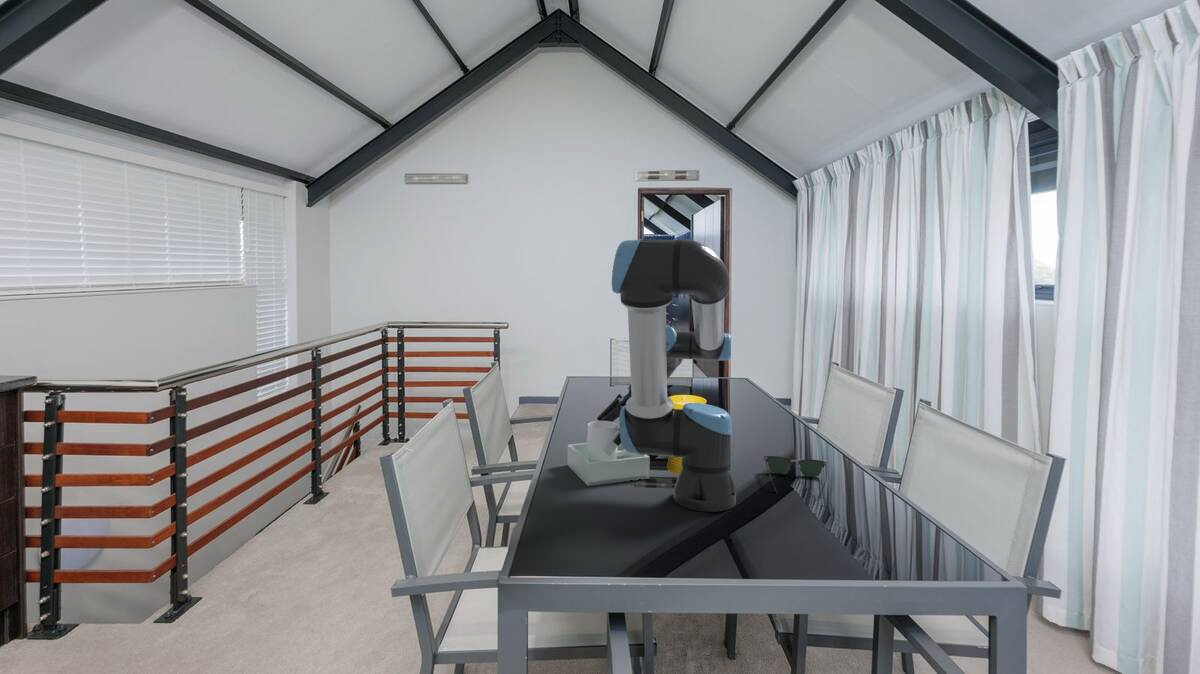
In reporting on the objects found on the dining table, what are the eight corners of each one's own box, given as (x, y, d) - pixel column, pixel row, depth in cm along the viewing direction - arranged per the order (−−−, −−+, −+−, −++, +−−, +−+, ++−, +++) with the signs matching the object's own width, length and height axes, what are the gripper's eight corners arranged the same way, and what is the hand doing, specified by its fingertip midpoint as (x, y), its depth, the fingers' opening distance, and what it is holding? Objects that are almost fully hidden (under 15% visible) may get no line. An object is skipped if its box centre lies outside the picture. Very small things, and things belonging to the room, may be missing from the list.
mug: (632, 457, 166) (632, 422, 165) (629, 467, 158) (629, 429, 157) (590, 455, 168) (590, 420, 167) (585, 464, 159) (585, 427, 158)
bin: (649, 478, 159) (649, 456, 158) (588, 486, 153) (588, 463, 152) (623, 458, 175) (624, 439, 175) (567, 465, 169) (567, 444, 168)
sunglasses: (763, 493, 150) (764, 474, 150) (763, 472, 167) (764, 454, 166) (832, 500, 146) (833, 481, 145) (825, 478, 162) (826, 460, 162)
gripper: (676, 401, 161) (626, 467, 154) (632, 387, 179) (586, 446, 172) (661, 383, 157) (609, 450, 151) (618, 371, 175) (570, 430, 169)
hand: (597, 448), depth 162 cm, fingers closed on mug, 9 cm apart
